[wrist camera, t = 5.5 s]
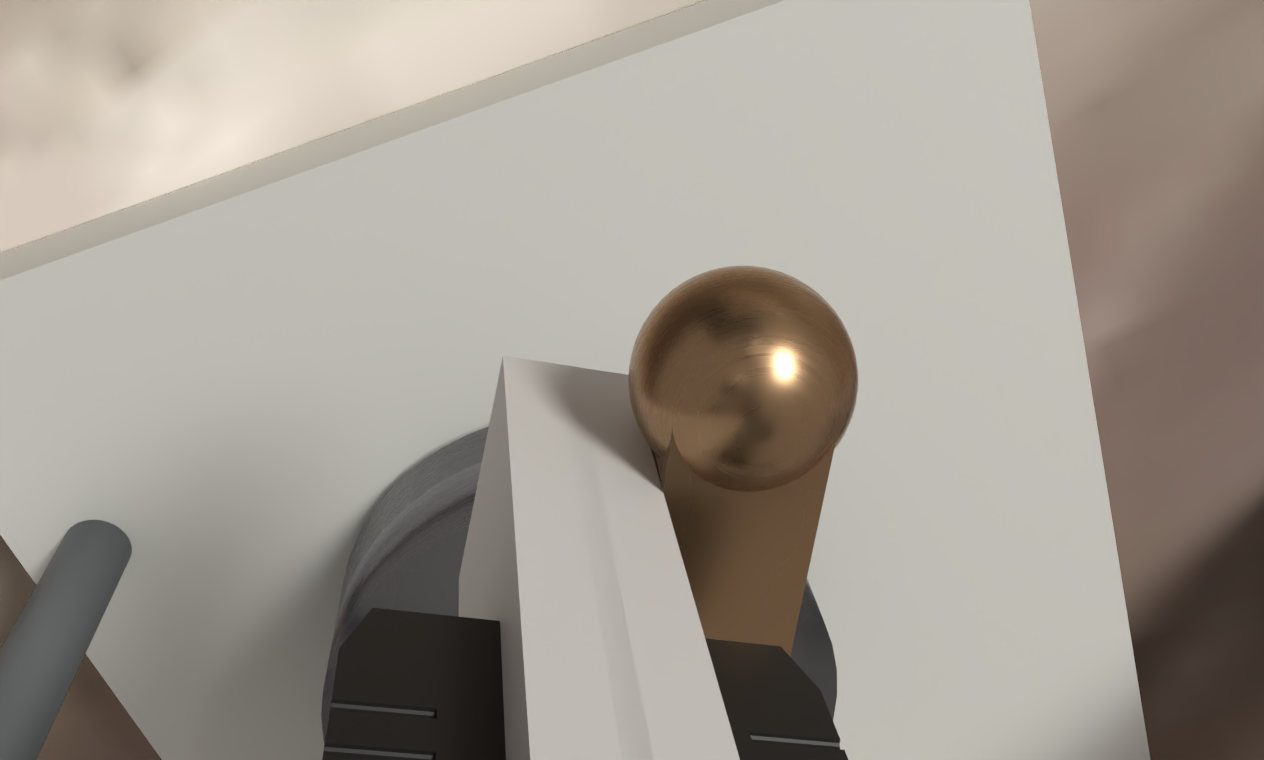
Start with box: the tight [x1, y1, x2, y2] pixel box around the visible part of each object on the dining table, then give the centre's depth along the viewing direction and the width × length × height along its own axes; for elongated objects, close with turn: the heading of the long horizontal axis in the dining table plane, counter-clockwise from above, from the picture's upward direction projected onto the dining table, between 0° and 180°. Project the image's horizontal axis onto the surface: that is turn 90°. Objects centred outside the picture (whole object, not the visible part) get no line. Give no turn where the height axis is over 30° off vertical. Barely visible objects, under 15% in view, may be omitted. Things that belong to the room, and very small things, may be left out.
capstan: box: [321, 266, 858, 744], centre depth 17 cm, size 16×16×12 cm
